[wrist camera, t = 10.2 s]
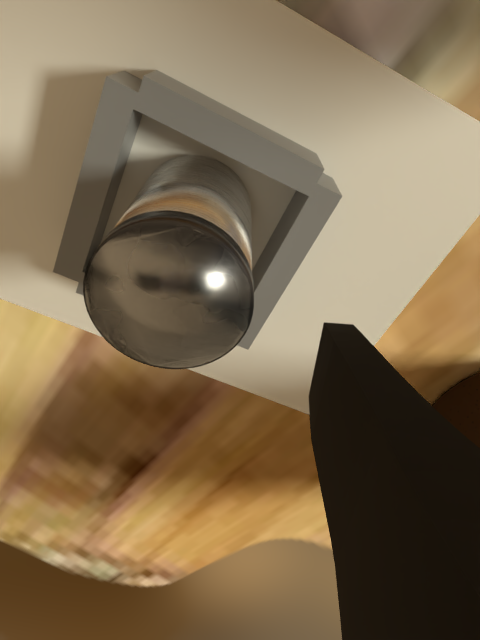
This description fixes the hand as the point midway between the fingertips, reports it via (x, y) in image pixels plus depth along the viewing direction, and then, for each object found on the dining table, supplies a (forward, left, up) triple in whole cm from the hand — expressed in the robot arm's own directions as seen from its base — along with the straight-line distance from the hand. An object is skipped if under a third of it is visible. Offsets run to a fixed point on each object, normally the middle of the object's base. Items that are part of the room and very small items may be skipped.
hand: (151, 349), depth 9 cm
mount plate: (0, +1, -10) cm, 10 cm away
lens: (0, 0, -10) cm, 10 cm away
